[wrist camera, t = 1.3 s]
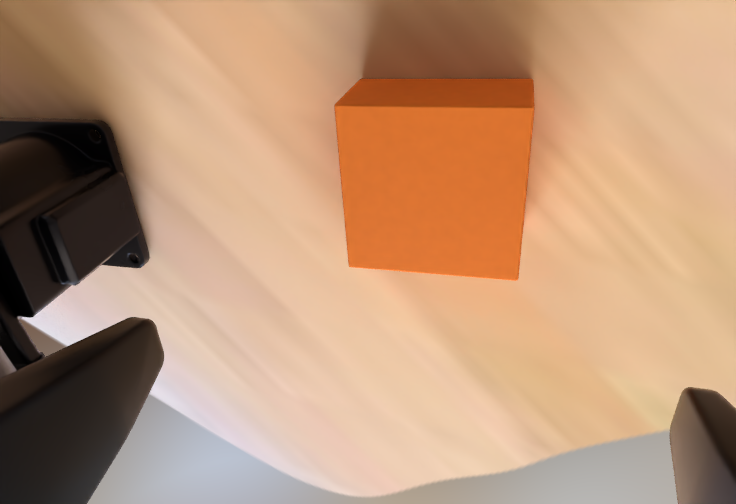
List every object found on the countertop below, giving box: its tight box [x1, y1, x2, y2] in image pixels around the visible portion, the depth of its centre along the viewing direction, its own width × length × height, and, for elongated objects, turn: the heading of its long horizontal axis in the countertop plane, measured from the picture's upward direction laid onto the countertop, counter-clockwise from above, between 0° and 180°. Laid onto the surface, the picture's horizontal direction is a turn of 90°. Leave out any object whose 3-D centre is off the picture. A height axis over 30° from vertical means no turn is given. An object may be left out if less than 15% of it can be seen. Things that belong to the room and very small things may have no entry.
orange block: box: [335, 79, 534, 281], centre depth 18 cm, size 6×6×3 cm
